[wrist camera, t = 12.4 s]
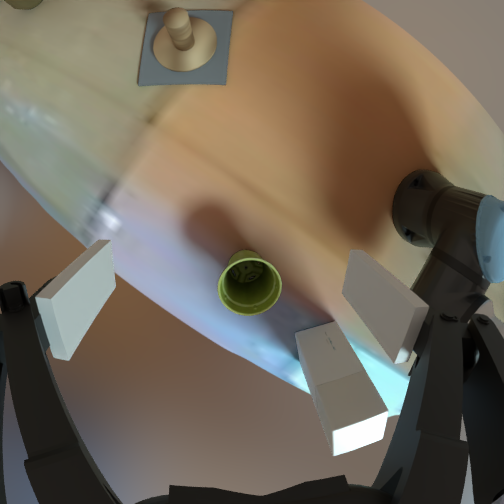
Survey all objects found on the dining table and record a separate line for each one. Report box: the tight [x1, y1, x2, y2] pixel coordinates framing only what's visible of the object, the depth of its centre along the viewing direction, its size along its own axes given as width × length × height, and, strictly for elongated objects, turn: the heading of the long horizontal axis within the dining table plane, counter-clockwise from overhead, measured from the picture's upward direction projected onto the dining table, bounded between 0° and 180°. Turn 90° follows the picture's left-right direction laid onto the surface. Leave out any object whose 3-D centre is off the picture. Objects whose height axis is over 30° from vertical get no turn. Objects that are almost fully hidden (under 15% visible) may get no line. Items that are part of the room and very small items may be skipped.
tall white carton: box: [295, 321, 388, 456], centre depth 47 cm, size 9×9×25 cm
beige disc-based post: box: [153, 8, 217, 72], centre depth 31 cm, size 10×10×11 cm
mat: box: [138, 10, 233, 86], centre depth 37 cm, size 14×14×1 cm
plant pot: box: [218, 250, 282, 316], centre depth 47 cm, size 9×9×9 cm
